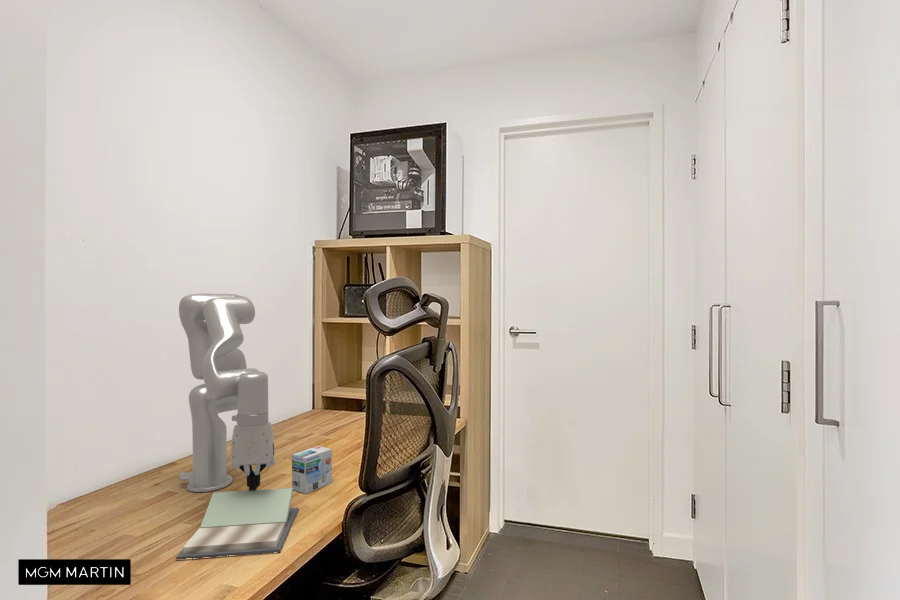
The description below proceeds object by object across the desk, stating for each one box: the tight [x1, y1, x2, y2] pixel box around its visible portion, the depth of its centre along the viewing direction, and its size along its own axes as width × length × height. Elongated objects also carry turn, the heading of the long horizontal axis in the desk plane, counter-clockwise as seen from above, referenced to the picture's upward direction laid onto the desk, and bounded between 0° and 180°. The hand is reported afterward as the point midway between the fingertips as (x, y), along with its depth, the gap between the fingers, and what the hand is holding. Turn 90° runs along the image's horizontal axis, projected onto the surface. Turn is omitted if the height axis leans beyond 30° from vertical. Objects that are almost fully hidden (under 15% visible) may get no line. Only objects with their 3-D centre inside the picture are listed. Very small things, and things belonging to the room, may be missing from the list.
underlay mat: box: [175, 507, 299, 560], centre depth 115 cm, size 22×22×1 cm
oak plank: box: [182, 523, 286, 554], centre depth 110 cm, size 20×10×2 cm, turn 98°
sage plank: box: [199, 487, 294, 528], centre depth 119 cm, size 20×10×2 cm, turn 98°
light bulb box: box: [291, 445, 333, 494], centre depth 144 cm, size 11×7×11 cm, turn 148°
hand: (253, 488), depth 123 cm, fingers closed
